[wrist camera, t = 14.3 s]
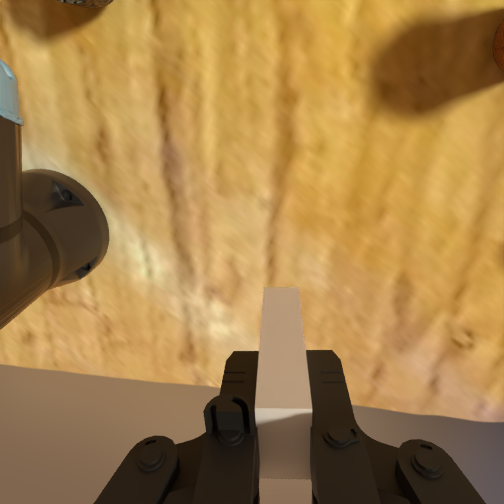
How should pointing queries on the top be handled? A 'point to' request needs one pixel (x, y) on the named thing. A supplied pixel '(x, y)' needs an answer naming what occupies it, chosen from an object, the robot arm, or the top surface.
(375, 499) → the robot arm
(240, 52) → the top surface
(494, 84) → the top surface
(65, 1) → the cup
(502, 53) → the disposable coffee cup
